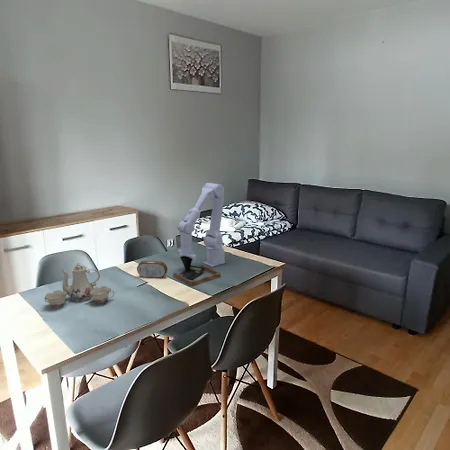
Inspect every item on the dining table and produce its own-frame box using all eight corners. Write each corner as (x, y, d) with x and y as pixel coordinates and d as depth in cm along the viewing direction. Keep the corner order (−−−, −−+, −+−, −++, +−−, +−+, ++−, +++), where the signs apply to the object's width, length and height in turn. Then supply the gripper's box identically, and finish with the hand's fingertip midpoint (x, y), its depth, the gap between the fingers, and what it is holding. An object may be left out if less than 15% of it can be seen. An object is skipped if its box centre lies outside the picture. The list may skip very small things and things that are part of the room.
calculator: (176, 277, 184) (176, 271, 184) (189, 269, 194) (189, 264, 194) (192, 281, 180) (192, 275, 179) (204, 273, 190) (204, 267, 189)
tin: (168, 276, 185) (167, 260, 183) (166, 278, 182) (165, 262, 180) (138, 275, 187) (137, 259, 184) (136, 277, 184) (135, 262, 181)
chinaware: (43, 317, 149) (37, 280, 143) (48, 296, 164) (42, 262, 158) (115, 306, 157) (112, 272, 151) (113, 287, 172) (111, 255, 166)
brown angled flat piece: (202, 268, 196) (201, 264, 195) (220, 276, 184) (220, 272, 184) (173, 276, 185) (173, 273, 184) (191, 286, 173) (190, 282, 173)
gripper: (172, 242, 190) (173, 267, 193) (188, 249, 179) (188, 275, 182) (183, 240, 194) (184, 264, 197) (199, 246, 183) (200, 272, 187)
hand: (187, 269), depth 190 cm, fingers closed
